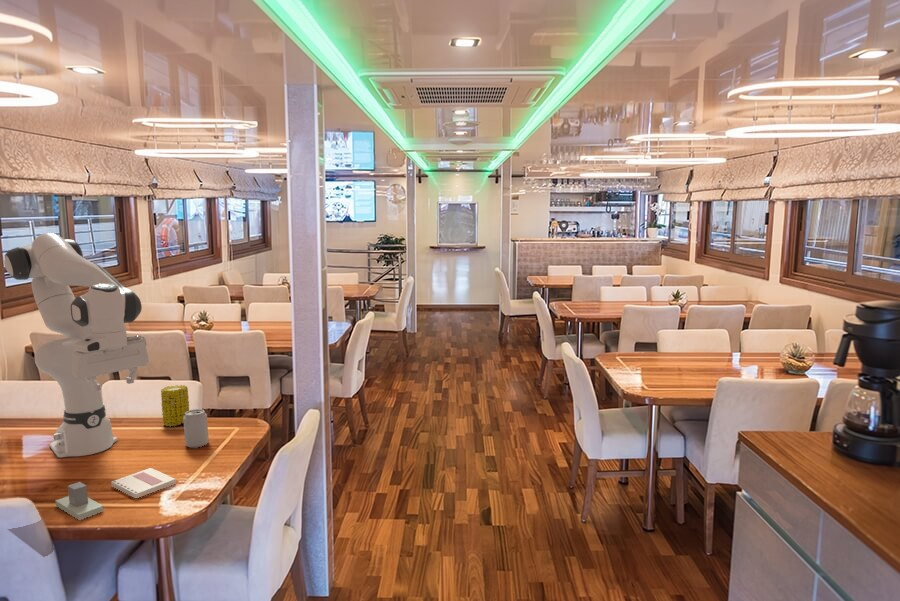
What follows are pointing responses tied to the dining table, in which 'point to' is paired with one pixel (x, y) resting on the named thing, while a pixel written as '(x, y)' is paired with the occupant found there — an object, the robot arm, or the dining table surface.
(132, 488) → the spiral notepad
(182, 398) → the food
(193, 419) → the can
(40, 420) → the dining table surface
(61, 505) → the stub
